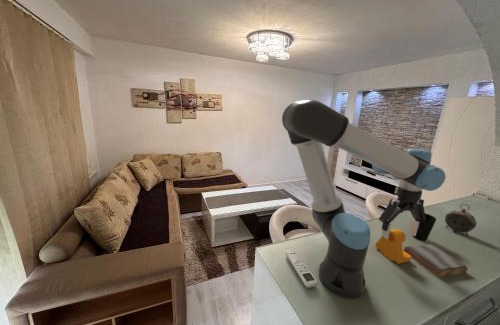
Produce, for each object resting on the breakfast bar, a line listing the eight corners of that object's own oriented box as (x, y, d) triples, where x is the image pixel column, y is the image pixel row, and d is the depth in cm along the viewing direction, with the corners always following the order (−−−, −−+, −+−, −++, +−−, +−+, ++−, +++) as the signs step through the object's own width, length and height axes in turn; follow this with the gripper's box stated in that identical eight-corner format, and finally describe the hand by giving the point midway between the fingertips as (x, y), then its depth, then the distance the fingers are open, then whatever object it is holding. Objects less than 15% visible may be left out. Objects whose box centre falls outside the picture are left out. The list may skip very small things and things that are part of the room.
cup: (406, 234, 103) (412, 213, 100) (415, 232, 105) (422, 211, 102) (423, 244, 96) (430, 221, 93) (433, 241, 98) (440, 219, 95)
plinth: (437, 276, 76) (439, 270, 75) (403, 251, 89) (405, 245, 89) (466, 273, 79) (468, 266, 78) (429, 249, 92) (431, 243, 91)
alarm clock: (472, 236, 104) (482, 207, 100) (468, 239, 101) (479, 209, 97) (444, 225, 113) (453, 199, 109) (440, 227, 111) (449, 200, 107)
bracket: (410, 262, 83) (418, 236, 80) (398, 265, 81) (405, 239, 78) (386, 245, 93) (392, 222, 90) (374, 248, 91) (380, 224, 88)
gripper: (391, 193, 73) (379, 243, 79) (446, 190, 78) (431, 238, 84) (375, 185, 81) (365, 232, 86) (426, 183, 85) (414, 228, 91)
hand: (398, 235), depth 85 cm, fingers open, 13 cm apart
